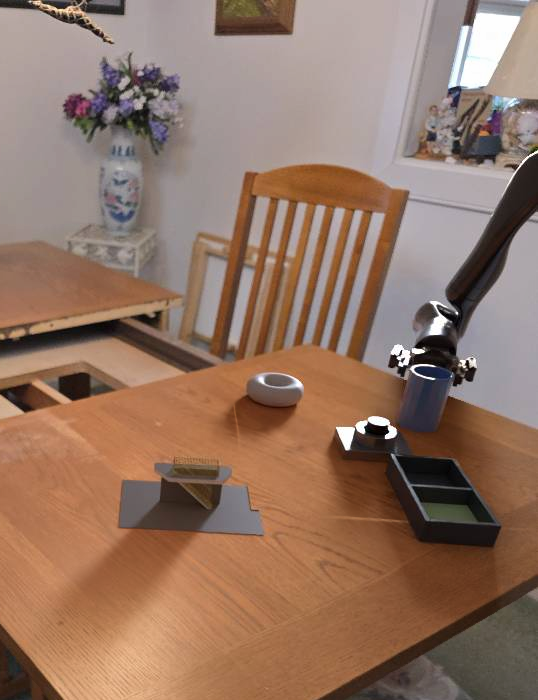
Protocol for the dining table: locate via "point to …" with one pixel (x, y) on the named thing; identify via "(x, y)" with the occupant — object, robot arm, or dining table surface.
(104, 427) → the dining table surface
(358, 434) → the control block
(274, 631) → the dining table surface
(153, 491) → the platform
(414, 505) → the black divided tray
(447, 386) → the cup
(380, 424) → the button
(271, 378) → the donut
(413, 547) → the dining table surface
